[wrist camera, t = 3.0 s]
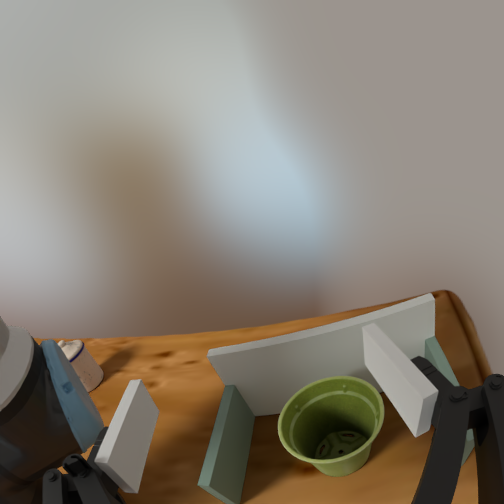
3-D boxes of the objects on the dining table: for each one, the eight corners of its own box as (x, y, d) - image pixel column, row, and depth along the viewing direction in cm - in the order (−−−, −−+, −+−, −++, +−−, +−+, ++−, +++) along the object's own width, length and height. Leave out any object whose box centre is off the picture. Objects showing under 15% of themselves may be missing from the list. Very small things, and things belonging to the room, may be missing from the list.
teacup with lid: (91, 367, 58) (64, 330, 54) (111, 371, 54) (82, 330, 50) (63, 399, 47) (32, 361, 44) (81, 407, 44) (46, 365, 40)
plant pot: (393, 421, 24) (392, 375, 22) (372, 495, 17) (369, 469, 14) (317, 416, 30) (300, 373, 27) (287, 481, 22) (259, 450, 20)
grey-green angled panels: (462, 465, 15) (496, 402, 11) (229, 505, 21) (167, 462, 17) (429, 369, 28) (430, 292, 24) (248, 410, 34) (209, 349, 31)
